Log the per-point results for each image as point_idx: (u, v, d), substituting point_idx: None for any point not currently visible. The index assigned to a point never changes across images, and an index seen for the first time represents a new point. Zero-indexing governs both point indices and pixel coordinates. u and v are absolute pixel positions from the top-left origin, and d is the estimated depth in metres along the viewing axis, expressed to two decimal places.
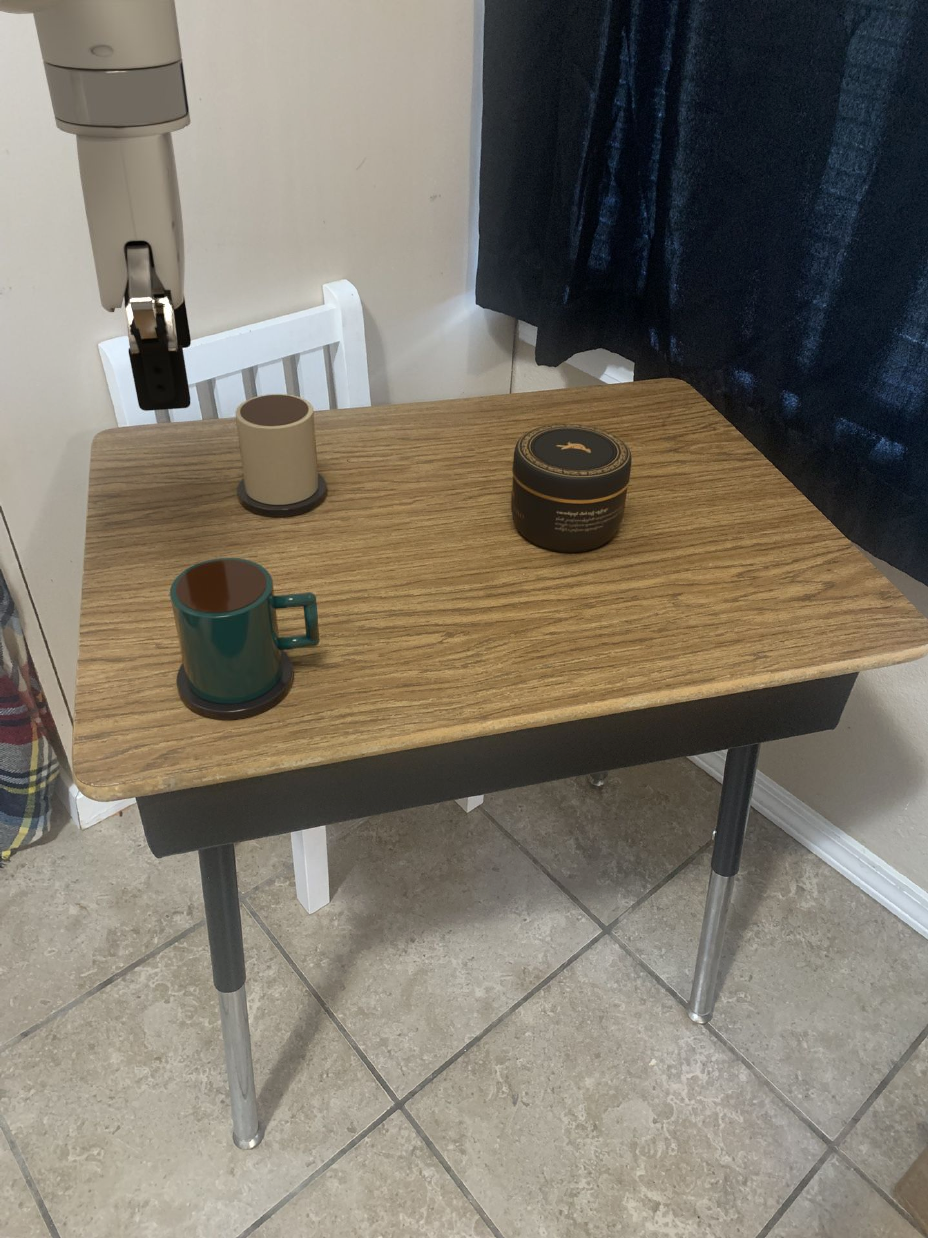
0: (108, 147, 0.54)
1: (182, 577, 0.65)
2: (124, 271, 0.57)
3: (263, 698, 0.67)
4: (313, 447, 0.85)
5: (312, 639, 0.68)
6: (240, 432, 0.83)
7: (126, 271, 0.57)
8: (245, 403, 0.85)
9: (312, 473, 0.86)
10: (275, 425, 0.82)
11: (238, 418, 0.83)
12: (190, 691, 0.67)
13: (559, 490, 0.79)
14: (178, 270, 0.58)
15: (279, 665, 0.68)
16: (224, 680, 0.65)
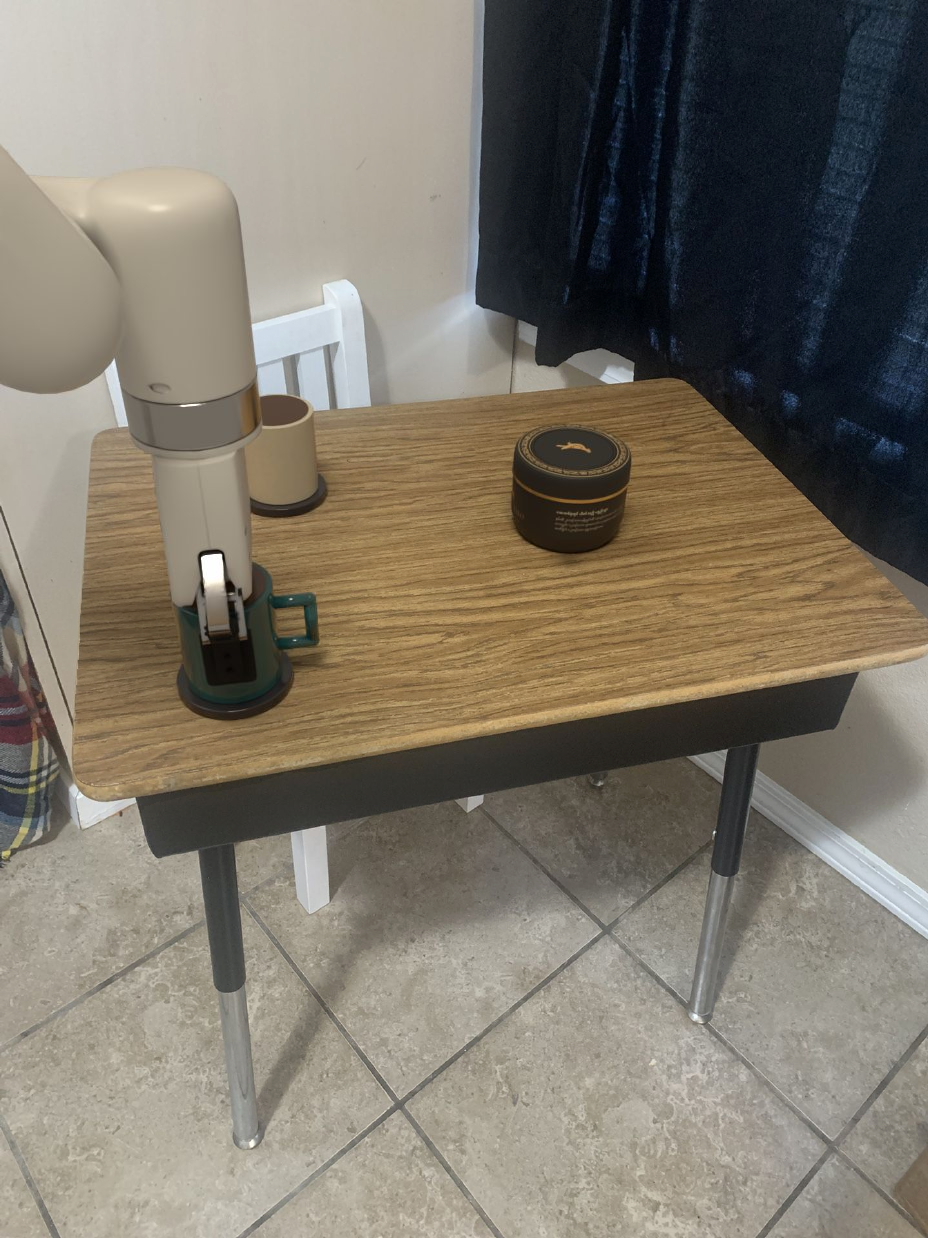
0: (186, 472, 0.54)
1: None
2: (196, 576, 0.57)
3: (263, 698, 0.67)
4: (313, 447, 0.85)
5: (312, 639, 0.68)
6: None
7: (199, 576, 0.57)
8: None
9: (312, 473, 0.86)
10: (275, 425, 0.82)
11: None
12: (190, 691, 0.67)
13: (559, 490, 0.79)
14: (249, 569, 0.58)
15: (279, 665, 0.68)
16: None
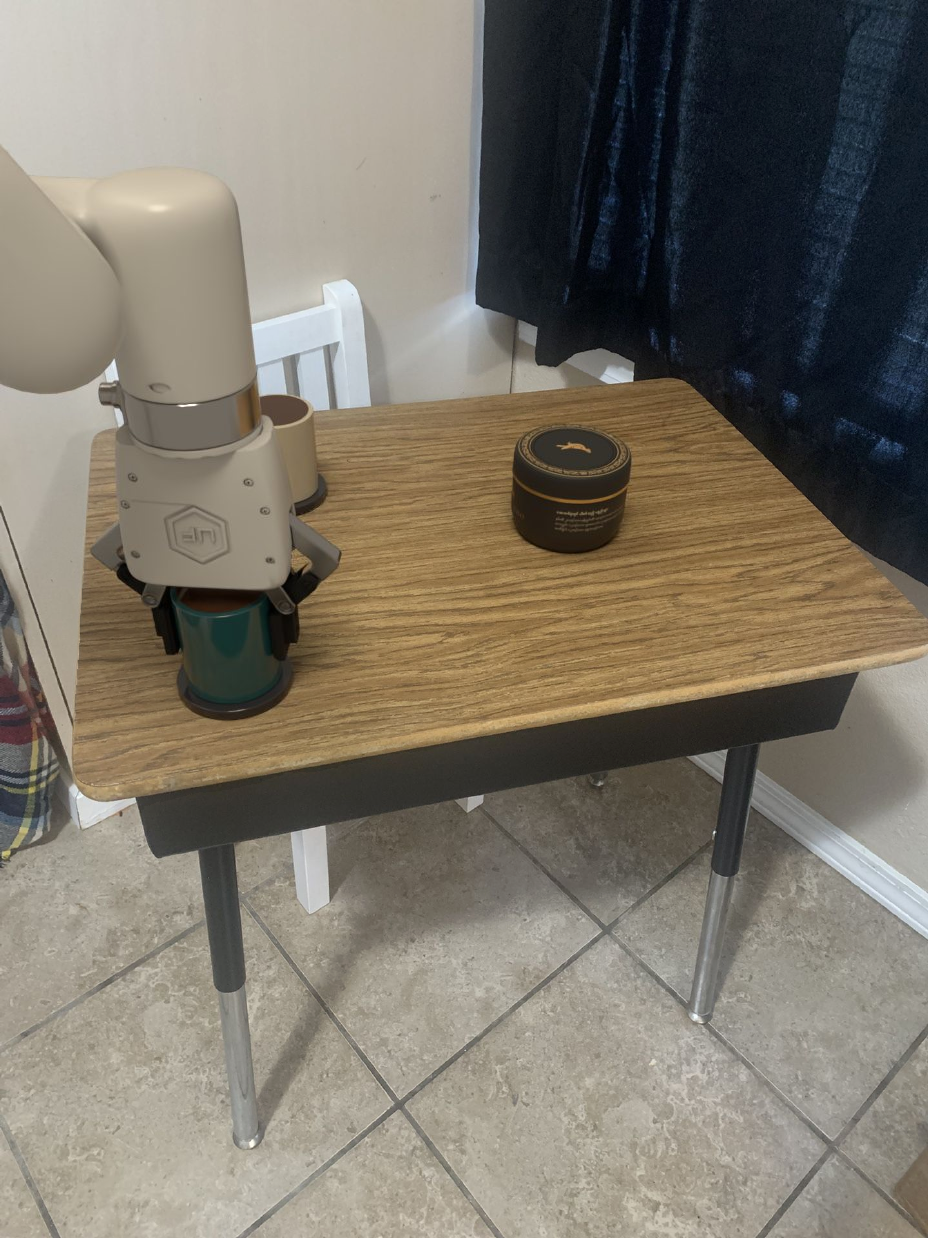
0: (272, 441, 0.57)
1: (190, 607, 0.62)
2: (290, 540, 0.60)
3: (263, 698, 0.67)
4: (313, 447, 0.85)
5: None
6: None
7: (291, 539, 0.60)
8: None
9: (312, 473, 0.86)
10: (275, 425, 0.82)
11: None
12: (190, 691, 0.67)
13: (559, 490, 0.79)
14: None
15: None
16: None
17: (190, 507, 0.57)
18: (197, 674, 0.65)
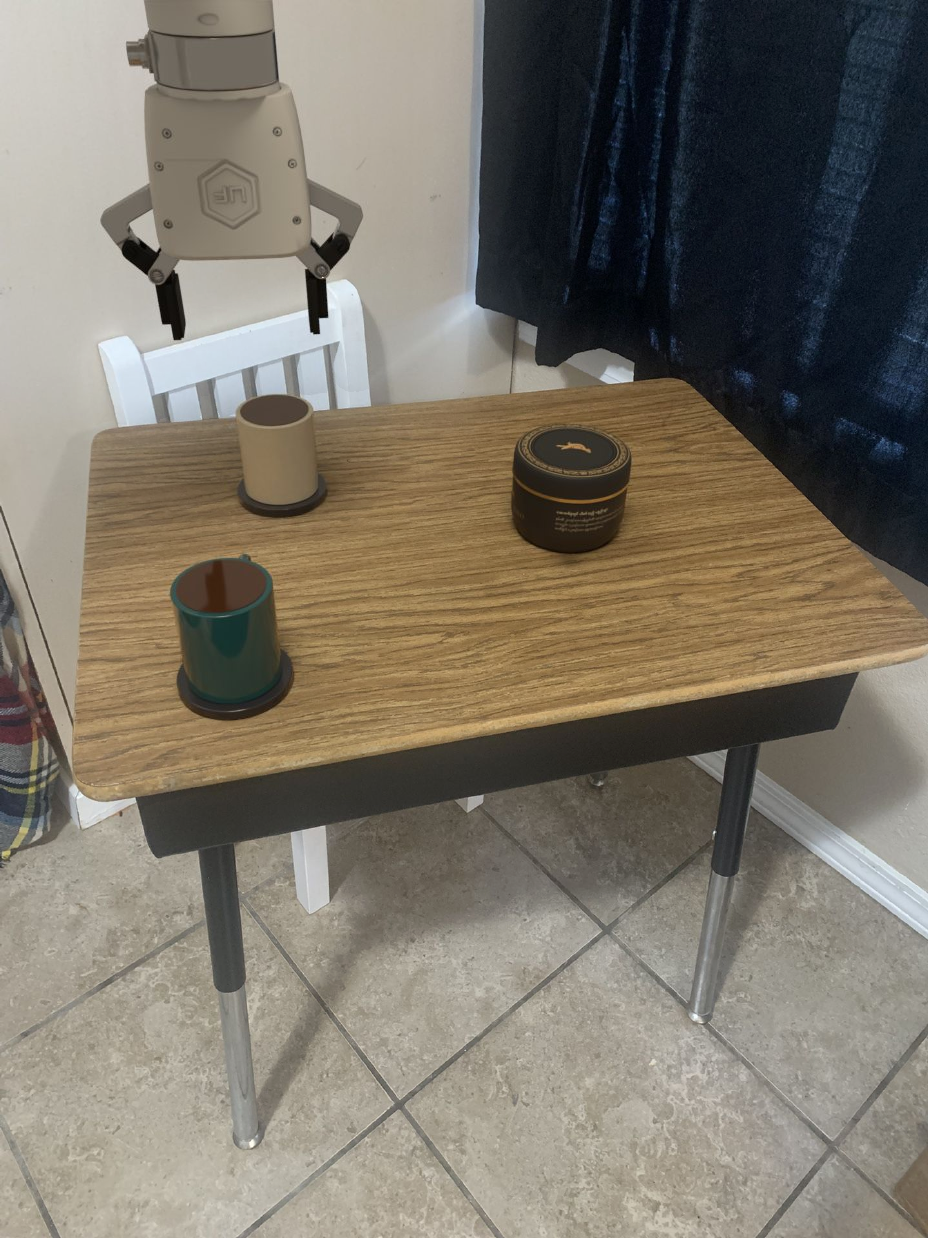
0: (292, 95, 0.62)
1: (190, 607, 0.62)
2: None
3: (263, 698, 0.67)
4: (313, 447, 0.85)
5: None
6: (240, 432, 0.83)
7: None
8: (245, 403, 0.85)
9: (312, 473, 0.86)
10: (275, 425, 0.82)
11: (238, 418, 0.83)
12: (190, 691, 0.67)
13: (559, 490, 0.79)
14: None
15: None
16: (276, 656, 0.67)
17: (222, 163, 0.61)
18: (197, 674, 0.65)
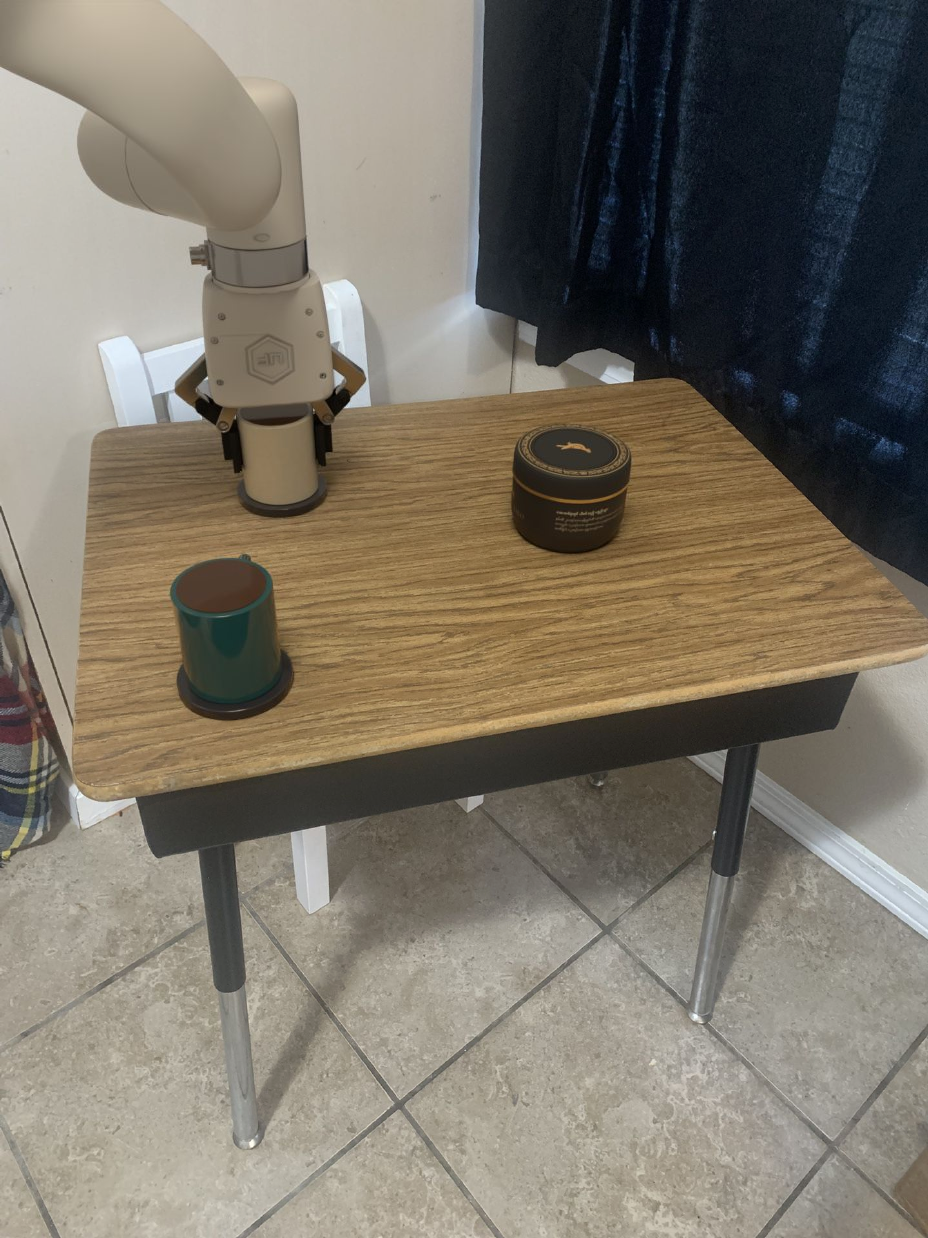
0: (319, 281, 0.78)
1: (190, 607, 0.62)
2: (332, 361, 0.81)
3: (263, 698, 0.67)
4: (313, 447, 0.85)
5: None
6: (240, 432, 0.83)
7: (332, 360, 0.82)
8: None
9: (312, 473, 0.86)
10: (275, 425, 0.82)
11: (238, 418, 0.83)
12: (190, 691, 0.67)
13: (559, 490, 0.79)
14: None
15: None
16: (276, 656, 0.67)
17: (265, 336, 0.77)
18: (197, 674, 0.65)
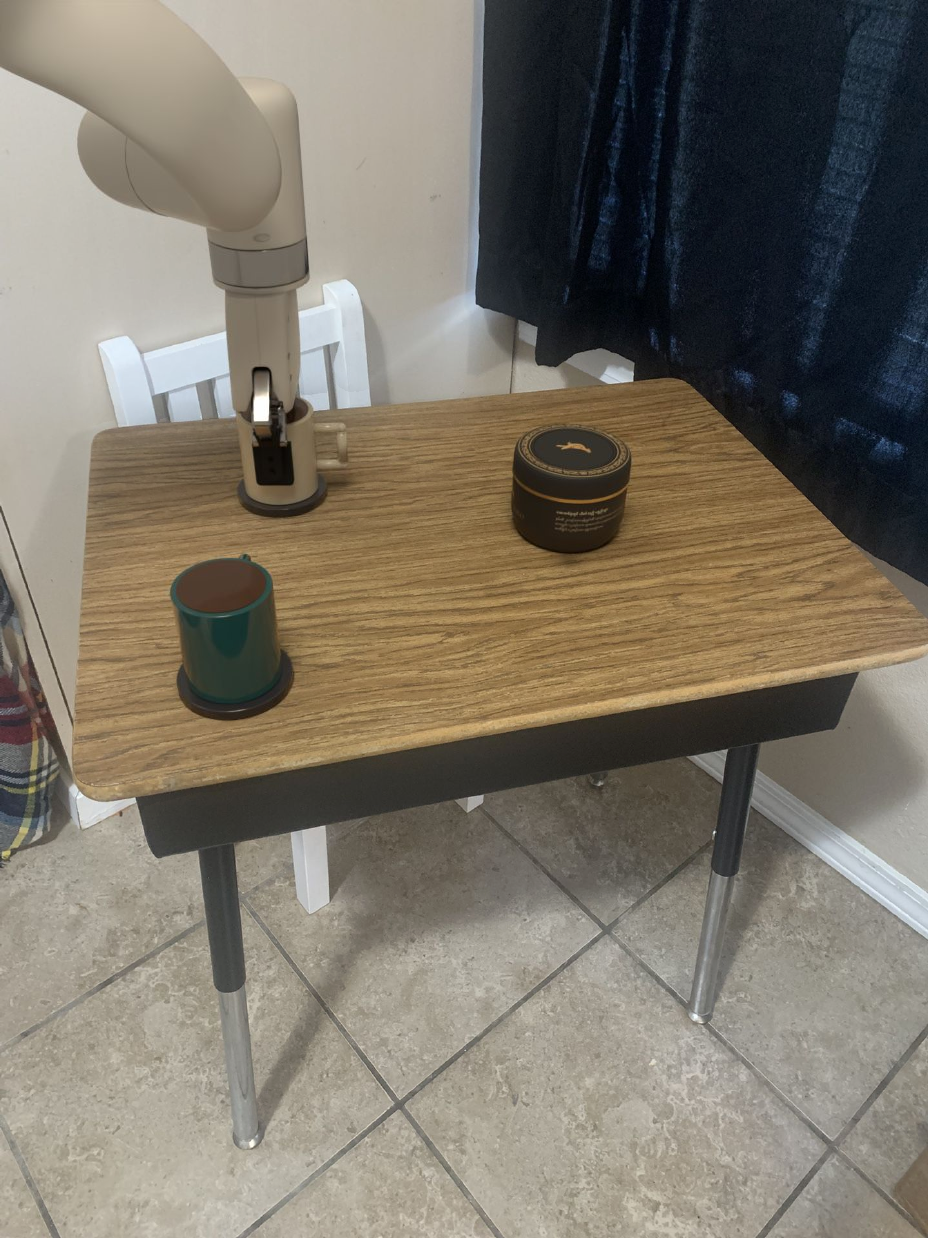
0: (246, 302, 0.74)
1: (190, 607, 0.62)
2: (250, 387, 0.77)
3: (263, 698, 0.67)
4: None
5: None
6: None
7: (252, 387, 0.77)
8: None
9: None
10: None
11: None
12: (190, 691, 0.67)
13: (559, 490, 0.79)
14: (290, 387, 0.78)
15: None
16: (276, 656, 0.67)
17: None
18: (197, 674, 0.65)
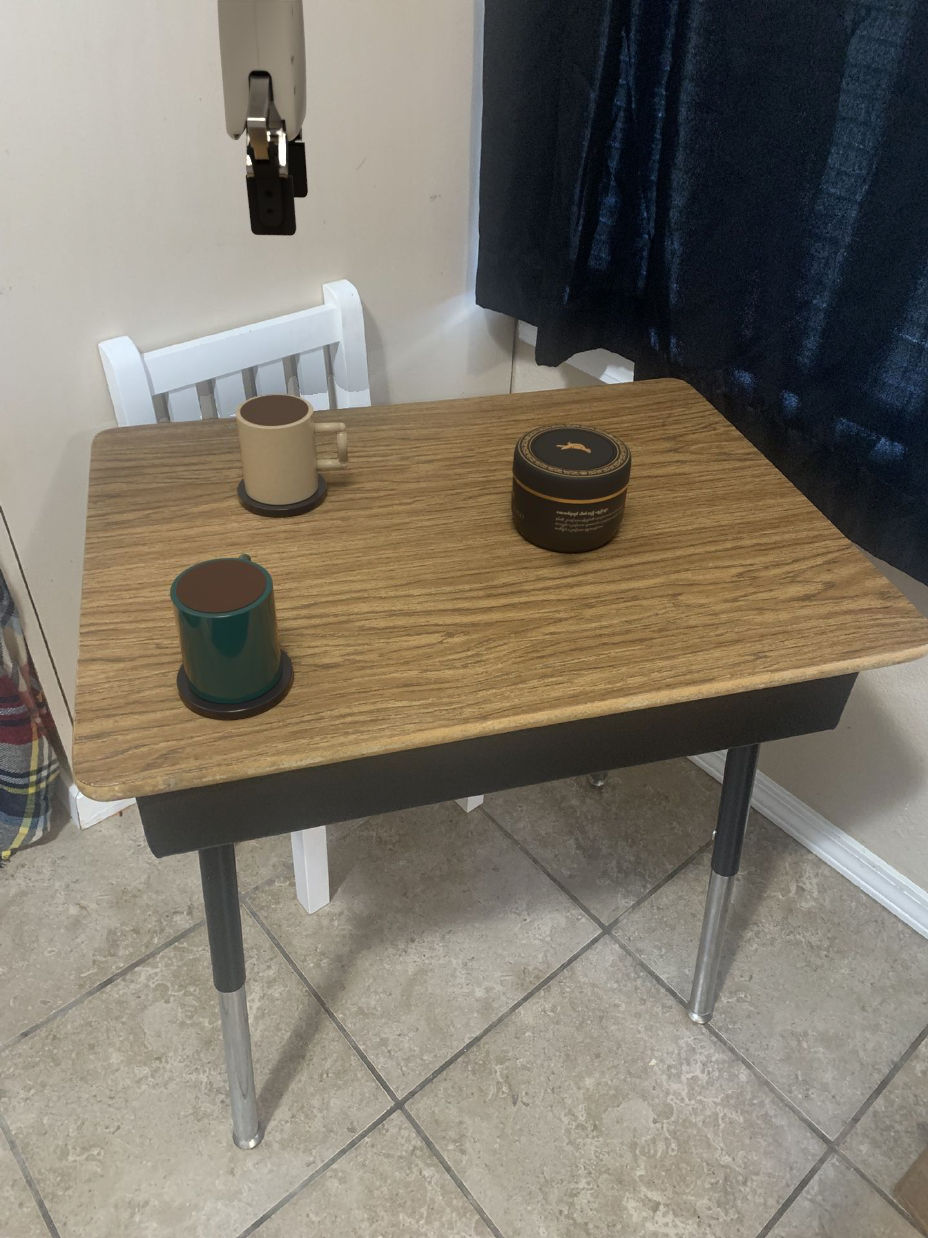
0: None
1: (190, 607, 0.62)
2: (246, 99, 0.65)
3: (263, 698, 0.67)
4: (260, 460, 0.83)
5: None
6: None
7: (249, 98, 0.65)
8: (294, 397, 0.86)
9: (256, 481, 0.85)
10: (241, 410, 0.84)
11: (264, 395, 0.86)
12: (190, 691, 0.67)
13: (559, 490, 0.79)
14: (293, 102, 0.66)
15: None
16: (276, 656, 0.67)
17: None
18: (197, 674, 0.65)
